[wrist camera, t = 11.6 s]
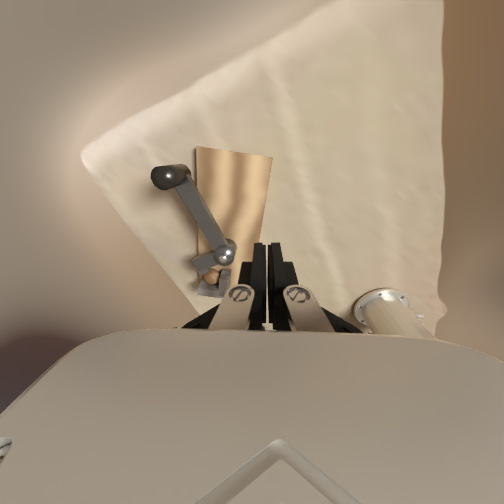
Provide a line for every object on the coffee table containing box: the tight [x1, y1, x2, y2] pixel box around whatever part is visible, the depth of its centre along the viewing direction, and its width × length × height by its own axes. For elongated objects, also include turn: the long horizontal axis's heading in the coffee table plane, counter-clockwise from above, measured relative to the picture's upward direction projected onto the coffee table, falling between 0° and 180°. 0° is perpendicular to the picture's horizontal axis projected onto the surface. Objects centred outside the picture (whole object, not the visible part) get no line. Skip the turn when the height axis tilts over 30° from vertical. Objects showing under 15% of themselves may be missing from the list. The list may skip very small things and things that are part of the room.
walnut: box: [204, 268, 220, 284], centre depth 40 cm, size 4×4×4 cm
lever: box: [151, 164, 237, 276], centre depth 32 cm, size 10×20×8 cm, turn 24°
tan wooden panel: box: [196, 146, 273, 298], centre depth 36 cm, size 13×30×5 cm, turn 173°
